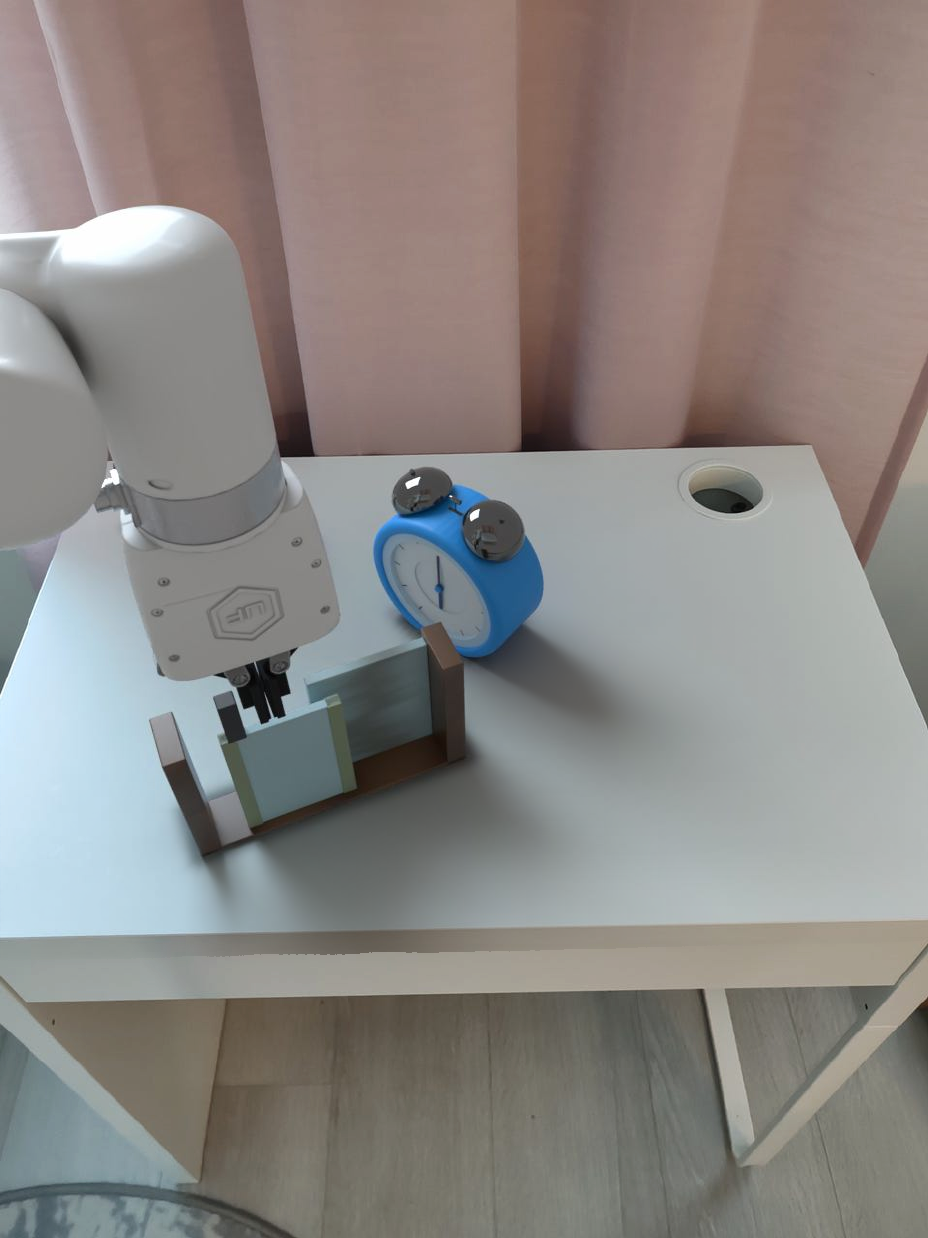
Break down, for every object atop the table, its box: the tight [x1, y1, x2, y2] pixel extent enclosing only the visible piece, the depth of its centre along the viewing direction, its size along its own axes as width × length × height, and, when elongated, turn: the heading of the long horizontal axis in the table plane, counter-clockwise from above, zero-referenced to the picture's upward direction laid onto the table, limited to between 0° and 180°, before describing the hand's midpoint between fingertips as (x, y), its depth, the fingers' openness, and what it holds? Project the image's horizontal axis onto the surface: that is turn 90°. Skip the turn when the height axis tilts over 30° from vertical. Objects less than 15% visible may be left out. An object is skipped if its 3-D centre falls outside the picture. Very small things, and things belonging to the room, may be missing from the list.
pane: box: [212, 690, 357, 828], centre depth 66 cm, size 8×1×14 cm, turn 113°
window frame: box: [148, 622, 467, 858], centre depth 69 cm, size 20×4×12 cm, turn 113°
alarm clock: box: [372, 466, 545, 658], centre depth 78 cm, size 13×6×15 cm, turn 51°
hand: (266, 703), depth 62 cm, fingers closed
